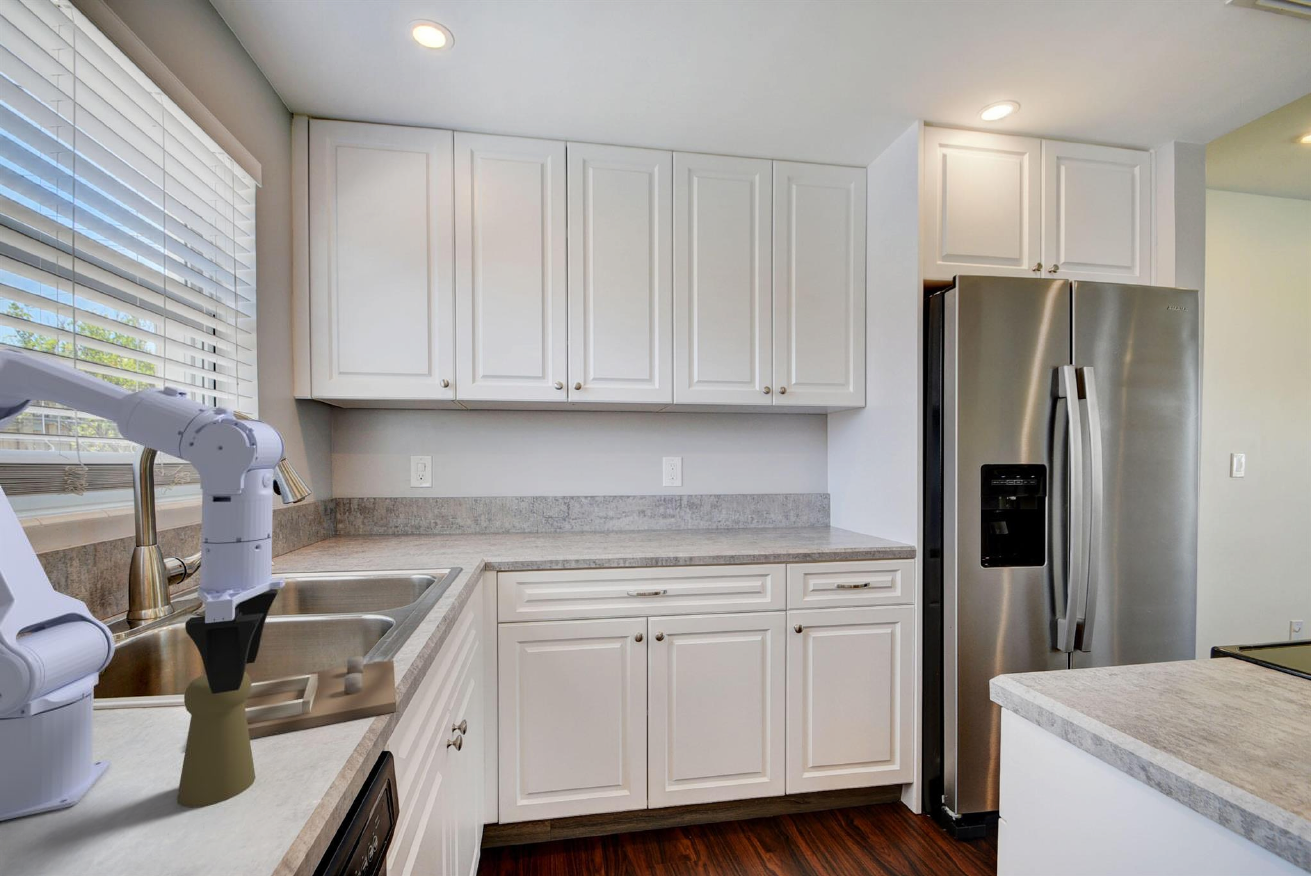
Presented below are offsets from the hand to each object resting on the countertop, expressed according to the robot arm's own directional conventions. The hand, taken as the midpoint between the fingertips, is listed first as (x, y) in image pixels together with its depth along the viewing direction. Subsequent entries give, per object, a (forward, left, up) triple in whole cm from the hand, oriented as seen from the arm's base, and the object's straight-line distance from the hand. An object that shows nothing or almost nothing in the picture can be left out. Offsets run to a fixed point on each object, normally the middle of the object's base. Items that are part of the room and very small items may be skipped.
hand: (235, 676), depth 56 cm
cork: (-1, -1, -11) cm, 11 cm away
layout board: (+5, +17, -10) cm, 21 cm away
